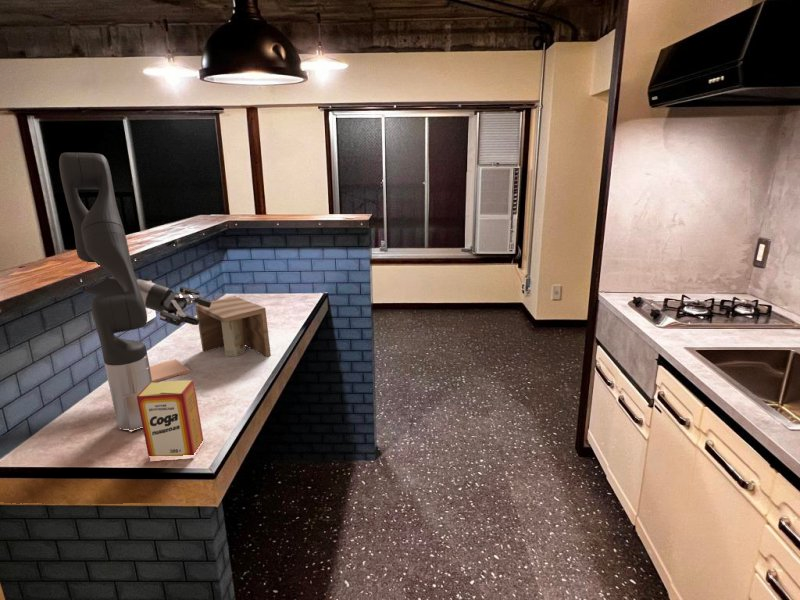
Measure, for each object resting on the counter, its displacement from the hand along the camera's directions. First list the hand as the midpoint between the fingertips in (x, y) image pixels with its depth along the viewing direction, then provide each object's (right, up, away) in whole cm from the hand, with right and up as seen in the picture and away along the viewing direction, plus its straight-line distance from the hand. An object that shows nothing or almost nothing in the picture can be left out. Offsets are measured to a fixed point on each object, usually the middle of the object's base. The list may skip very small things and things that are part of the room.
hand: (204, 313), depth 148 cm
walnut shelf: (+3, -14, +19) cm, 24 cm away
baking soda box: (+9, -30, -38) cm, 49 cm away
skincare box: (+3, -14, +19) cm, 24 cm away
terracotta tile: (-15, -18, +5) cm, 24 cm away
